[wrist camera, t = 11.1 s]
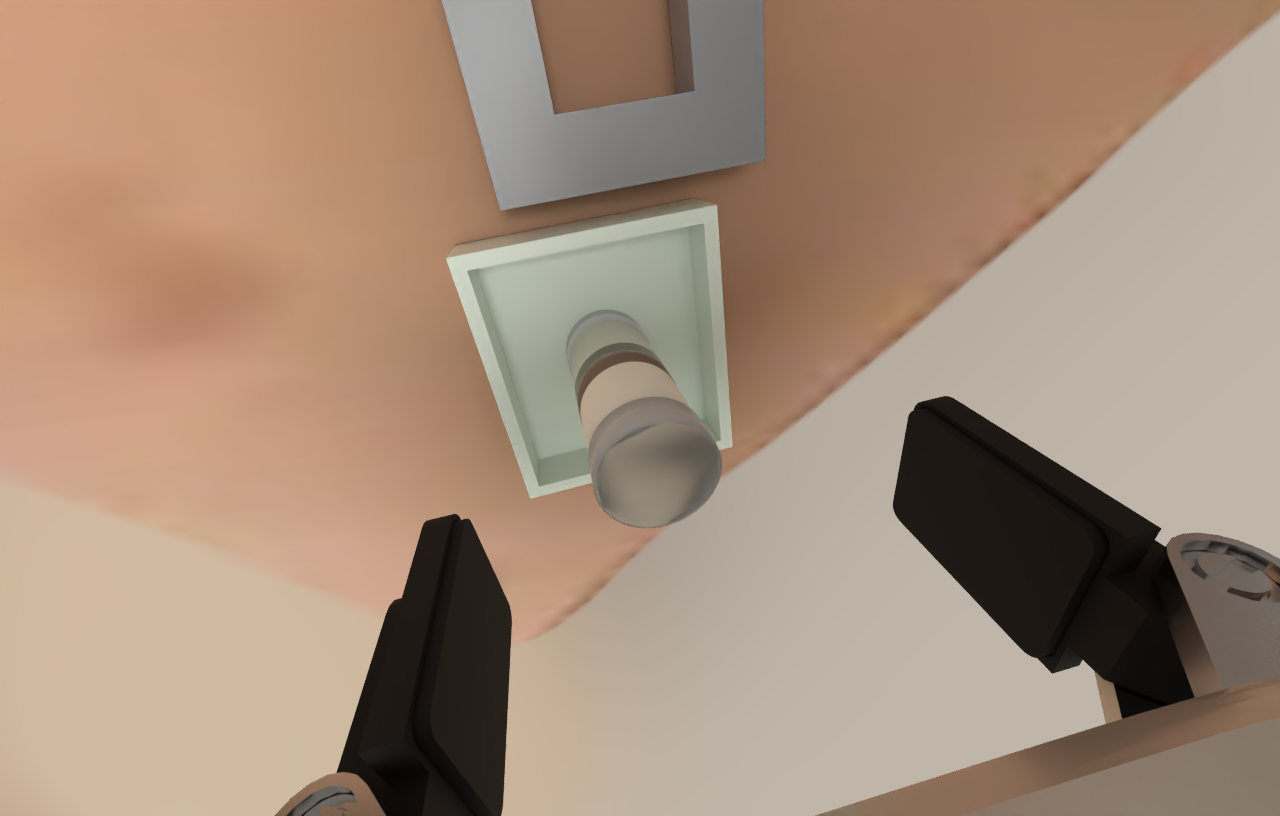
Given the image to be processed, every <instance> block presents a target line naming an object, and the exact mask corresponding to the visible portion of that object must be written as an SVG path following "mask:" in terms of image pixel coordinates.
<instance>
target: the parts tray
mask: <svg viewBox="0 0 1280 816" xmlns="http://www.w3.org/2000/svg"><path fill="white" fill-rule="evenodd" d="M446 260H447V263H448V266H449V269H450V272H451V274H452V277H453V280H454V283H455V286H456V289H457V291H458V294H459V297H460V300H461V303H462V306H463V309H464V311H465V314H466V317H467V320H468V323H469V326H470V328H471V331H472V334H473V337H474V340H475V343H476V346H477V348H478V351H479V354H480V357H481V360H482V363H483V365H484V368H485V371H486V374H487V377H488V380H489V383H490V385H491V388H492V391H493V394H494V397H495V400H496V402H497V405H498V408H499V411H500V414H501V417H502V420H503V422H504V425H505V428H506V431H507V434H508V437H509V439H510V442H511V445H512V448H513V451H514V454H515V457H516V459H517V462H518V465H519V468H520V471H521V474H522V476H523V479H524V482H525V485H526V488H527V491H528V494H529V496H530V499H532V498H536V497H539V496H543V495H547V494H551V493H555V492H559V491H563V490H567V489H571V488H575V487H578V486H582V485H586V484H590V483H592V478H591V473H590V468H589V462H588V449H587V445H586V440H585V435H584V430H583V426H582V423H581V419H580V414H579V410H578V405H577V400H576V395H575V388H574V383H573V378H572V375H571V373H570V370H569V365H568V360H567V355H566V342H567V338H568V336H569V333H570V331H571V329H572V328H573V327H574V325H575V324H576V323H577V322H578V321H579V320H580V319H581V318H583V317H584V316H586V315H587V314H590V313H592V312H595V311H598V310H616V311H620V312H622V313H625V314H626V315H628V316H630V317H631V318H632V319H633V320H634V321H635V322H636V323H637V324H638V325H639V327H640V328H641V330H642V331H643V333H644V334H645V336H646V338H647V339H648V341H649V344H650V346H651V347H652V349H653V350H654V352H655V354H656V355H657V356H658V358H659V359H660V360H661V362H662V363H663V365H664V366H665V368H666V369H667V371H668V372H669V374H670V376H671V377H672V379H673V380H674V382H675V384H676V386H677V387H678V389H679V391H680V392H681V394H682V395H683V397H684V398H685V400H686V401H687V403H688V404H689V406H690V408H691V409H692V410H693V411H694V412H695V413H696V414H697V415H698V417H699V418H700V419H701V421H702V423H703V424H704V426H705V427H706V429H707V430H708V432H709V433H710V435H711V436H712V438H713V439H714V441H715V442H716V444H717V446H718V448H719V450H722V449H726V448H730V447H733V446H732V430H731V415H730V399H729V383H728V368H727V352H726V337H725V321H724V306H723V290H722V275H721V259H720V244H719V228H718V213H717V205H716V204H712V203H709V202H705V201H701V200H698V199H689V200H684V201H679V202H674V203H668V204H663V205H658V206H653V207H648V208H643V209H638V210H632V211H627V212H622V213H617V214H612V215H607V216H601V217H596V218H591V219H586V220H581V221H576V222H571V223H565V224H560V225H555V226H550V227H545V228H540V229H535V230H529V231H524V232H519V233H514V234H509V235H504V236H499V237H493V238H488V239H483V240H478V241H473V242H468V243H463V244H457V245H455V247H454V248H453V249H452V251H451V252H450V253H449V255H448V256H447V257H446Z"/></svg>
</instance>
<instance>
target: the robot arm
mask: <svg viewBox="0 0 1280 816" xmlns="http://www.w3.org/2000/svg"><path fill="white" fill-rule="evenodd" d="M893 509H894V512H895V514H896V516H897V518H898V519H899V520H900V521H901V523H902V524H903V525H904V526H905V527H906V528H907V529H908V530H909V531H910V532H911V533H912V534H913V535H914V536H915V537H916V539H918V541H919V542H920V543H921V544H922V545H923V546H924V547H925V548H926V549H927V550H928V551H929V552H930V553H931V554H932V555H933V556H934V558H935V559H936V560H937V561H938V562H939V563H940V564H941V565H942V566H943V567H944V568H945V569H946V570H947V571H948V572H949V573H950V574H951V575H952V576H953V578H954V579H955V580H956V581H958V583H959V584H960V585H961V586H962V587H963V588H964V589H965V590H966V591H967V592H968V593H969V594H970V595H971V596H972V597H973V599H974V600H975V601H976V602H977V603H978V604H979V605H980V606H981V607H982V608H983V609H984V610H985V611H986V612H987V613H988V614H989V616H990V617H991V618H992V619H993V620H994V621H995V622H996V623H997V624H998V625H999V626H1000V627H1001V628H1002V629H1003V630H1004V631H1005V632H1006V633H1007V635H1008V636H1010V638H1011V639H1012V640H1013V641H1014V642H1015V643H1016V644H1017V645H1018V646H1019V647H1020V648H1021V649H1022V650H1023V651H1024V652H1025V653H1026V654H1028V655H1030V656H1031V657H1035V658H1038V659H1039V660H1040V661H1041V662H1042V663H1043V664H1044V665H1045V667H1046V668H1048V670H1049V671H1050V672H1051V673H1056V672H1059V671H1062V670H1066V669H1069V668H1072V667H1075V666H1078V665H1080V663H1081V661H1082V660H1084V661H1085V662H1086V663H1087V664H1088V665H1089V666H1090V667H1091V668H1092V669H1093V670H1094V671H1095V676H1096V680H1097V685H1098V689H1099V694H1100V699H1101V703H1102V707H1103V712H1104V717H1105V721H1106V724H1105V725H1101V726H1098V727H1095V728H1092V729H1089V730H1085V731H1082V732H1079V733H1076V734H1072V735H1069V736H1066V737H1063V738H1060V739H1056V740H1053V741H1050V742H1047V743H1044V744H1040V745H1037V746H1034V747H1031V748H1028V749H1024V750H1021V751H1018V752H1015V753H1011V754H1008V755H1005V756H1002V757H999V758H995V759H992V760H990V761H986V762H983V763H980V764H977V765H973V766H970V767H967V768H964V769H961V770H958V771H954V772H951V773H948V774H945V775H942V776H939V777H936V778H932V779H929V780H926V781H923V782H920V783H916V784H913V785H910V786H907V787H904V788H901V789H898V790H895V791H891V792H888V793H885V794H882V795H879V796H876V797H873V798H869V799H866V800H863V801H860V802H857V803H854V804H850V805H847V806H844V807H841V808H838V809H835V810H832V811H829V812H825V813H822V814H819V815H816V816H1280V559H1279V558H1277V557H1275V556H1273V555H1271V554H1269V553H1267V552H1265V551H1264V550H1262V549H1259V548H1257V547H1254V546H1252V545H1249V544H1246V543H1244V542H1241V541H1238V540H1234V539H1231V538H1227V537H1223V536H1219V535H1213V534H1203V533H1189V534H1181V535H1178V536H1176V537H1173V538H1172V539H1171V540H1170V541H1169V543H1168V544H1167V546H1166V547H1165V546H1163V545H1162V544H1160V543H1159V542H1157V541H1155V538H1156V537H1157V535H1158V533H1159V532H1160V530H1161V528H1160V527H1158V526H1156V525H1155V524H1153V523H1152V522H1150V521H1148V520H1147V519H1145V518H1144V517H1142V516H1140V515H1139V514H1137V513H1136V512H1134V511H1132V510H1131V509H1129V508H1128V507H1126V506H1124V505H1123V504H1121V503H1120V502H1118V501H1117V500H1115V499H1113V498H1112V497H1110V496H1109V495H1107V494H1105V493H1104V492H1102V491H1101V490H1099V489H1097V488H1096V487H1094V486H1092V485H1091V484H1089V483H1088V482H1086V481H1084V480H1083V479H1081V478H1080V477H1078V476H1077V475H1075V474H1073V473H1072V472H1070V471H1069V470H1067V469H1065V468H1064V467H1062V466H1061V465H1059V464H1057V463H1056V462H1054V461H1053V460H1051V459H1049V458H1048V457H1046V456H1045V455H1043V454H1041V453H1040V452H1038V451H1037V450H1035V449H1034V448H1032V447H1030V446H1029V445H1027V444H1026V443H1024V442H1022V441H1021V440H1019V439H1018V438H1016V437H1014V436H1013V435H1011V434H1010V433H1008V432H1006V431H1005V430H1003V429H1002V428H1000V427H998V426H997V425H995V424H994V423H992V422H990V421H989V420H987V419H986V418H984V417H982V416H981V415H979V414H978V413H976V412H975V411H973V410H971V409H970V408H968V407H967V406H965V405H963V404H962V403H960V402H958V401H957V400H955V399H954V398H951V397H948V396H944V397H939V398H935V399H931V400H927V401H923V402H920V403H918V404H917V405H916V406H915V408H914V411H912V412H911V413H910V414H909V417H908V422H907V428H906V433H905V439H904V445H903V450H902V456H901V461H900V467H899V472H898V479H897V484H896V490H895V495H894V501H893ZM511 627H512V617H511V610H510V606H509V603H508V601H507V598H506V596H505V594H504V592H503V590H502V588H501V585H500V583H499V581H498V579H497V577H496V575H495V572H494V570H493V568H492V566H491V564H490V562H489V559H488V557H487V555H486V553H485V551H484V549H483V546H482V544H481V542H480V540H479V538H478V536H477V533H476V531H475V529H474V527H473V525H472V523H471V521H470V520H469V519H463V520H461V519H460V517H459V516H458V515H457V514H452V515H448V516H444V517H440V518H436V519H432V520H427V521H426V522H425V523H424V525H423V527H422V530H421V534H420V537H419V541H418V544H417V548H416V551H415V555H414V558H413V561H412V565H411V568H410V572H409V575H408V579H407V582H406V586H405V589H404V593H403V596H402V598H401V599H397V600H394V601H393V602H392V604H391V605H390V606H389V608H388V611H387V613H386V616H385V619H384V622H383V626H382V629H381V632H380V635H379V638H378V642H377V645H376V648H375V651H374V655H373V658H372V661H371V664H370V667H369V670H368V674H367V677H366V680H365V683H364V686H363V690H362V693H361V696H360V699H359V703H358V706H357V709H356V712H355V716H354V719H353V722H352V725H351V728H350V731H349V735H348V738H347V741H346V744H345V748H344V751H343V754H342V757H341V761H340V763H339V767H338V770H337V773H335V774H330V775H326V776H324V777H322V778H320V779H318V780H316V781H315V782H312V783H310V784H309V785H307V786H306V787H305V788H303V789H302V790H301V791H300V792H298V793H297V794H296V795H295V796H293V797H292V798H291V799H290V800H289V801H288V802H287V803H286V804H285V805H284V806H283V807H282V808H281V810H280V811H279V812H278V813H277V814H276V815H275V816H501V813H502V807H503V793H504V773H505V752H506V730H507V710H508V690H509V689H508V687H509V669H510V648H511Z"/></svg>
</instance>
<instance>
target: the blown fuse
mask: <svg viewBox="0 0 1280 816" xmlns="http://www.w3.org/2000/svg"><path fill="white" fill-rule="evenodd" d="M566 355H567V360H568V365H569V370H570V373H571V375H572V378H573V383H574V388H575V395H576V400H577V405H578V410H579V414H580V419H581V423H582V426H583V430H584V435H585V440H586V445H587V449H588V462H589V468H590V473H591V478H592V483H593V487H594V492H595V496H596V499H597V501H598V503H599V505H600V506H601V508H602V509H603V510H604V512H606V513H607V514H608V515H609V516H610V517H611V518H613V519H614V520H616V521H618V522H620V523H622V524H625V525H628V526H632V527H638V528H655V527H662V526H666V525H670V524H673V523H675V522H678V521H680V520H682V519H684V518H686V517H687V516H689V515H691V514H692V513H694V512H695V511H697V510H698V509H699V508H700V507H701V506H702V505H703V504H704V503H705V502H706V501H707V500H708V499H709V497H710V496H711V495H712V493H713V492H714V490H715V488H716V486H717V484H718V482H719V479H720V475H721V469H722V460H721V454H720V451H719V448H718V446H717V444H716V442H715V441H714V439H713V438H712V436H711V435H710V433H709V432H708V430H707V429H706V427H705V426H704V424H703V423H702V421H701V419H700V418H699V417H698V415H697V414H696V413H695V412H694V411H693V410H692V409H691V408H690V406H689V404H688V403H687V401H686V400H685V398H684V397H683V395H682V394H681V392H680V391H679V389H678V387H677V386H676V384H675V382H674V380H673V379H672V377H671V376H670V374H669V372H668V371H667V369H666V368H665V366H664V365H663V363H662V362H661V360H660V359H659V358H658V356H657V355H656V354H655V352H654V350H653V349H652V347H651V346H650V344H649V341H648V339H647V338H646V336H645V334H644V333H643V331H642V330H641V328H640V327H639V325H638V324H637V323H636V322H635V321H634V320H633V319H632V318H631V317H630V316H628V315H626V314H625V313H622V312H620V311H616V310H598V311H595V312H592V313H590V314H587V315H586V316H584V317H583V318H581V319H580V320H579V321H578V322H577V323H576V324H575V325H574V327H573V328H572V329H571V331H570V333H569V336H568V338H567V342H566Z"/></svg>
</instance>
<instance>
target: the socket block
mask: <svg viewBox="0 0 1280 816" xmlns="http://www.w3.org/2000/svg"><path fill="white" fill-rule="evenodd" d="M442 4H443V7H444V11H445V15H446V18H447V22H448V25H449V29H450V32H451V36H452V40H453V43H454V47H455V50H456V54H457V57H458V61H459V65H460V68H461V72H462V75H463V79H464V82H465V86H466V89H467V93H468V97H469V100H470V104H471V107H472V111H473V114H474V118H475V122H476V125H477V129H478V132H479V136H480V139H481V143H482V147H483V150H484V154H485V157H486V161H487V164H488V168H489V172H490V175H491V179H492V182H493V186H494V189H495V193H496V197H497V200H498V204H499V207H500V211H502V210H507V209H513V208H518V207H523V206H529V205H534V204H539V203H544V202H550V201H555V200H560V199H566V198H571V197H576V196H582V195H587V194H592V193H597V192H603V191H608V190H613V189H619V188H624V187H629V186H635V185H640V184H645V183H651V182H656V181H661V180H666V179H672V178H677V177H682V176H688V175H693V174H698V173H704V172H709V171H714V170H720V169H725V168H730V167H735V166H741V165H746V164H751V163H757V162H762V161H766V142H765V77H764V12H763V0H668V9H669V19H670V30H671V40H672V51H673V62H674V72H675V83H676V94H674V95H668V96H662V97H656V98H650V99H644V100H638V101H632V102H626V103H620V104H614V105H608V106H602V107H596V108H591V109H585V110H579V111H573V112H567V113H561V114H555V115H554V110H553V105H552V100H551V96H550V91H549V86H548V81H547V76H546V71H545V67H544V62H543V57H542V52H541V47H540V42H539V38H538V33H537V28H536V23H535V18H534V13H533V9H532V4H531V0H442Z"/></svg>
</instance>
